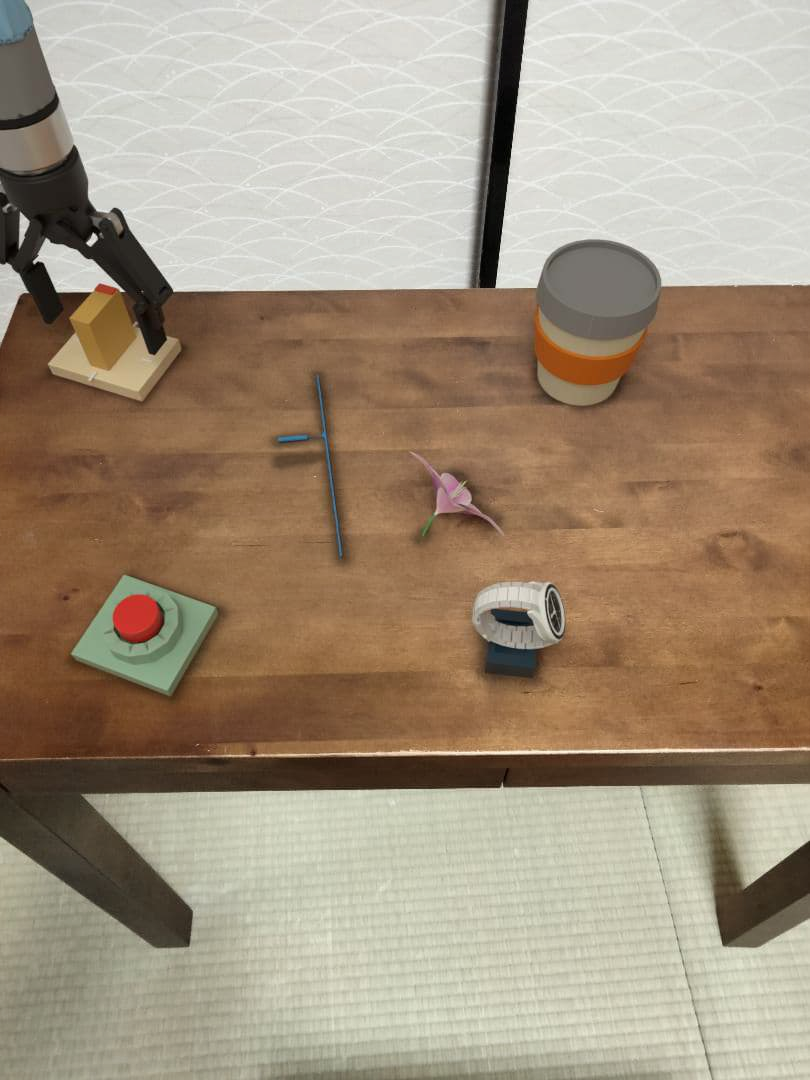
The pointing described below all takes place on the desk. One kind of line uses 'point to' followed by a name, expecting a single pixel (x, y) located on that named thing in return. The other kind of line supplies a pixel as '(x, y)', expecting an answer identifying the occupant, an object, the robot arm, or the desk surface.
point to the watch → (518, 624)
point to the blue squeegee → (304, 437)
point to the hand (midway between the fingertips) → (105, 331)
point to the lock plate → (117, 366)
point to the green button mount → (160, 655)
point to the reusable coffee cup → (592, 317)
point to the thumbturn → (103, 326)
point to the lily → (451, 496)
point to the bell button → (137, 618)
